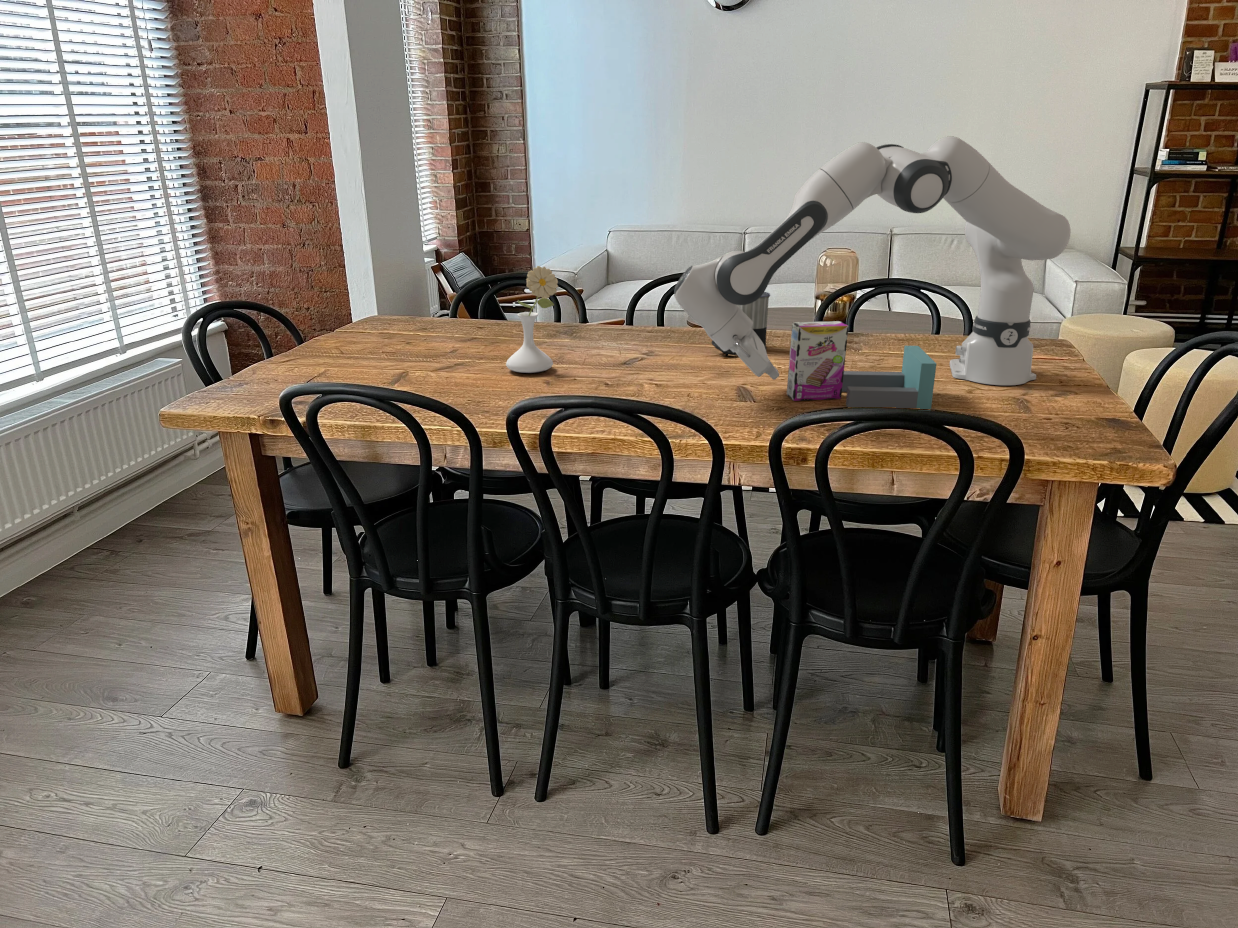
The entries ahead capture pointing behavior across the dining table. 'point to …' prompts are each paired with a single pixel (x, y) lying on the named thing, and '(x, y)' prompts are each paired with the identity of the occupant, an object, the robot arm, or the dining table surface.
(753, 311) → the milk frother
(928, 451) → the dining table surface
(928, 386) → the grey and teal stand
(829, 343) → the candy bar box
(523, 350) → the flower in vase
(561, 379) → the dining table surface
